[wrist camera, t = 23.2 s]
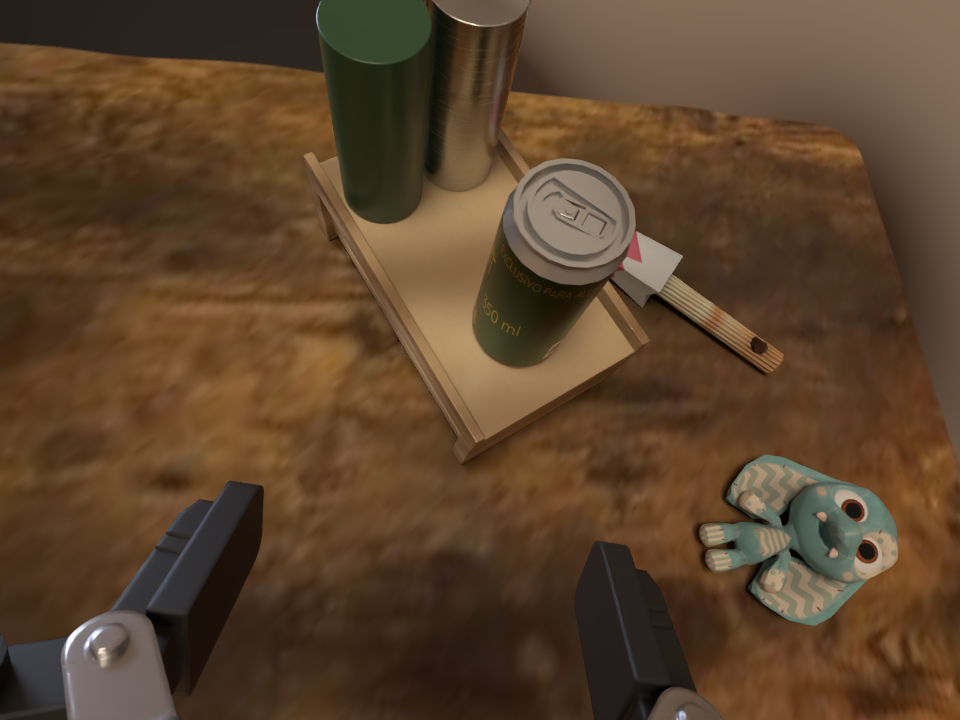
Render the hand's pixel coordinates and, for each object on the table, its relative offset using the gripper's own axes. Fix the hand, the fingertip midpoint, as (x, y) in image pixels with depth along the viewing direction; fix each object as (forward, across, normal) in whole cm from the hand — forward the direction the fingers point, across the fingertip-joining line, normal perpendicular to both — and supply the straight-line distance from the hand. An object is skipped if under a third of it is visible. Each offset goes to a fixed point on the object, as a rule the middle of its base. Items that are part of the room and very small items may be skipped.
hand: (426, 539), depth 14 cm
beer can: (+20, -4, +2) cm, 21 cm away
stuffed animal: (+19, -24, +13) cm, 34 cm away
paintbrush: (+31, -15, +2) cm, 35 cm away
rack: (+28, -1, +4) cm, 29 cm away
